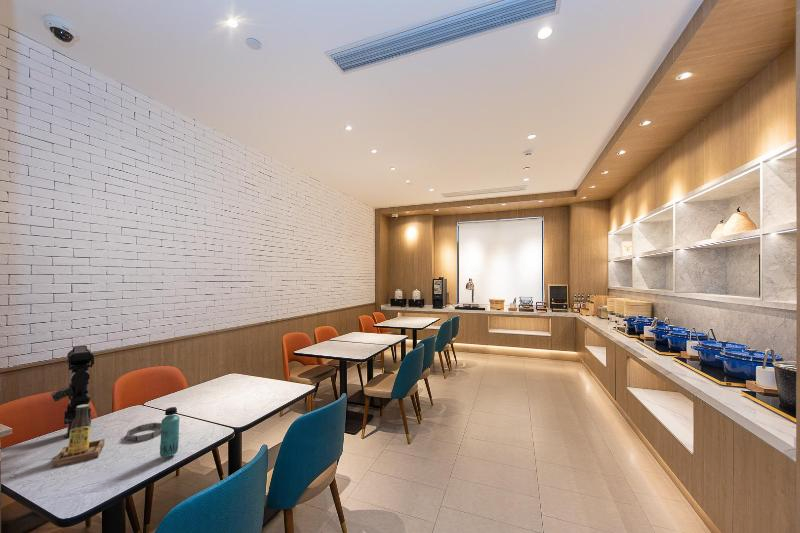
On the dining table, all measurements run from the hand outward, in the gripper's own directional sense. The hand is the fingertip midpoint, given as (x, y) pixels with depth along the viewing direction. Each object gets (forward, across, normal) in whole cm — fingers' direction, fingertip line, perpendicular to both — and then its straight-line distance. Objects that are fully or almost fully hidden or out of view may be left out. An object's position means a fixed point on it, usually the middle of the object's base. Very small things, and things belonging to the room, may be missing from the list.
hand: (77, 414), depth 143 cm
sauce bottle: (+12, +14, 0) cm, 19 cm away
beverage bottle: (+13, +43, +25) cm, 52 cm away
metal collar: (+13, +12, +23) cm, 29 cm away
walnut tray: (+13, +14, 0) cm, 19 cm away
